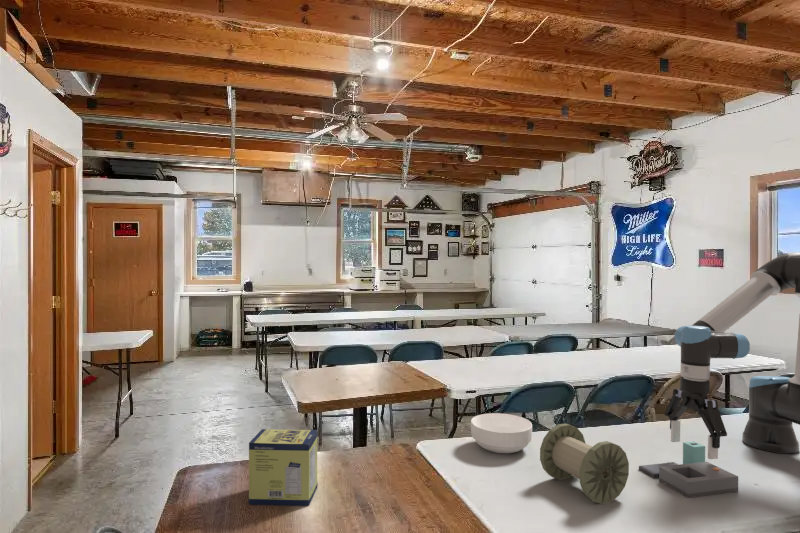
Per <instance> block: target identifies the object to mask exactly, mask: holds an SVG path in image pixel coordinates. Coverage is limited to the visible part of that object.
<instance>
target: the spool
mask: <svg viewBox="0 0 800 533" xmlns="http://www.w3.org/2000/svg"><path fill="white" fill-rule="evenodd" d="M539 461H540V464H541V466H542V469H543V470H544V471H545V473H547V475H549V477H551V478H554V479H557V480H559V481H560V480H561V481H562V480H565V479H569V478H572V477H574V478H576V479H578V480H579V484H580V487H581V490H582V493H583V494H584V495H585V496H586V497H587V499H588V500H590V501H592V502H595V503H597V504H601V505H604V504H608V503H611V502H613V501H615V500H616V499H617V498H618V497H619V496H620V495H621V493H622V492H623V491H624V489H625V487H626V485H627V481H628V478H629V469H630V468H629V466H630V463H629V459H628V456H627V453H626V451H625V450H624V449H623V448H622V447H621V446H620V445H618V444H615V443H613V442H610V441H608V440H606V441H599V442H597V443H596V444H594V445H593V446H592V445H590V444H587V443H586V440H585V437H584V434H583V432H581V431H580V430H579V428H578V427H576V426H574V425H571V424H568V423H559V424H556V425H555V426H554V427H552V428H550V429H549V430H548V432H546V434H545V436H544V437H543V438H542V443H541V445H540V448H539Z"/></svg>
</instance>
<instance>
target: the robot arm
mask: <svg viewBox="0 0 800 533" xmlns="http://www.w3.org/2000/svg"><path fill="white" fill-rule="evenodd" d="M788 289H795V290H794V294H795V296H797V297H798V298H799V299H800V252H798V251H797V252H796V251H794V252H788V253H784V254H781V255H779V256H776V257H775V258H773V259H770V261H767V262H766V263H764V264H763V265H761V266H759V267H758V268H757V269H756V270H755V271H754V272H752V273H751V274H750V279H748V280H747V281H746V282H745V283H744V284H742V285H741V286H740V287H738V288H737V289H736V290H735V291H733V292H732V293H731V294H730V295H728V296H727V297H726V298H725V299H723V300H722V301H721V302H720V303H718V304H717V305H716V306H715V307H713V308H712V309H711V310H710V311H708V312H706V313H705V315H703V316H702V317H701V318H699V319H698V320H697V321H696V322H694V323H693V324H691V325H682V326H679V327H677V329H676V331H675V333H674V341H675V343H676V344H677V346H679V347H680V376H681V377H680V379H679V380H680V381H679V388H675V389H674V388H673V390H672V391H673V392H672V396H671V399H670V400H669V402H668V404H667V407H666V409H665V411H664V415H665V416H666V417H668V418H669V429H670V442H671V443H678V442H679V443H680V442H681V419H680V418H681V416H682V415H683V414H684V413H685V412H686V411H687V410H688V409H689V410H692V411H694V412H696V413H697V414H698V415H700V417H701V419H702V421H703V423H704V425H705V426H706V428H707V431H708V432H709V435H707V459H708V460H717V459H719V457H718V456H719V449H720V446H721V437H727V436H728V432H727V431H726V430H727V429H726V427H725V424H724V421H723V419H722V418H723V417H722V415H721V413H720V410H719V404H718V400H717V399H709V398H708V395H709V393H710V388H711V387H710V381H709V379H710V378H711V359H732V360H734V359H735V360H736V359H742V358H745V357H747V356H748V354H750V353H749V352H750V349H751V347H750V346H751V345H750V341H749V339H748V337H746V335H745V334H743V333H738V332H737V333H736V332H726V331H728V330H729V329H730V328H731V327H733V326H734V325H735V324H736V323H738V321H740V320H741V319H742V318H744V317H745V316H747V315H748V314H749V313H750V312H751V311H753V310H754V309H756V307H758V306H759V305H760V304H761V303H763V302H764V301H765V300H766V299H768V298H769V297H771V296H777V295H778V294H780V293H781V292H782V291H785V290H788ZM798 316H799V317H798V331H797V341H796V342H797V344H796V357H795V365H794V366H795V368H794V375H793V376H792V377H789V376H777V375H756V376H755V375H754V376H752V377H750V379H749V384H748V420H747V423H746V424H745V427H744V431H743V432H742V442H743V443H744V444H746V445H748V446H750V447H752V448H755V449H757V450H758V449H759V450H762V451H766V452H770V453H778V454H797V453H798V452H799V451H800V443H799V441H798V438H797V435H796V432H795V430H794V427H793V423H794V424H796V425H799V426H800V314H799V315H798Z"/></svg>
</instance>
